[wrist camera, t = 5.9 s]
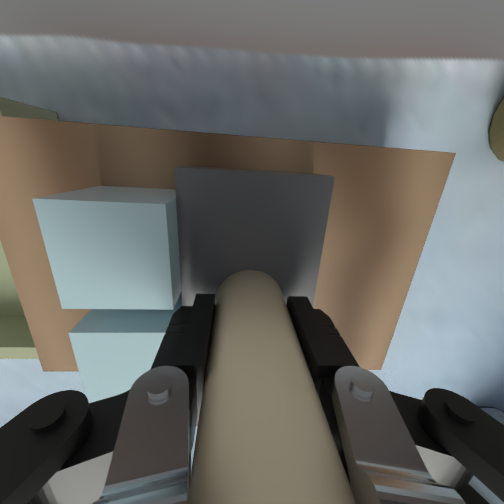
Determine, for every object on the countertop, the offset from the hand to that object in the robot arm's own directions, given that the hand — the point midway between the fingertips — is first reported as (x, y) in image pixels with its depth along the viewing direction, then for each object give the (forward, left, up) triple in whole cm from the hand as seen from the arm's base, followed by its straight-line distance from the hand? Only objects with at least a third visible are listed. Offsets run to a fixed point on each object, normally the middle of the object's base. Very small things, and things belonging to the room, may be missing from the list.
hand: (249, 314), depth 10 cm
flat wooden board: (+1, 0, -10) cm, 10 cm away
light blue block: (+5, +3, -4) cm, 7 cm away
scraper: (0, 0, -4) cm, 4 cm away
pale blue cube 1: (+5, -2, -4) cm, 7 cm away
